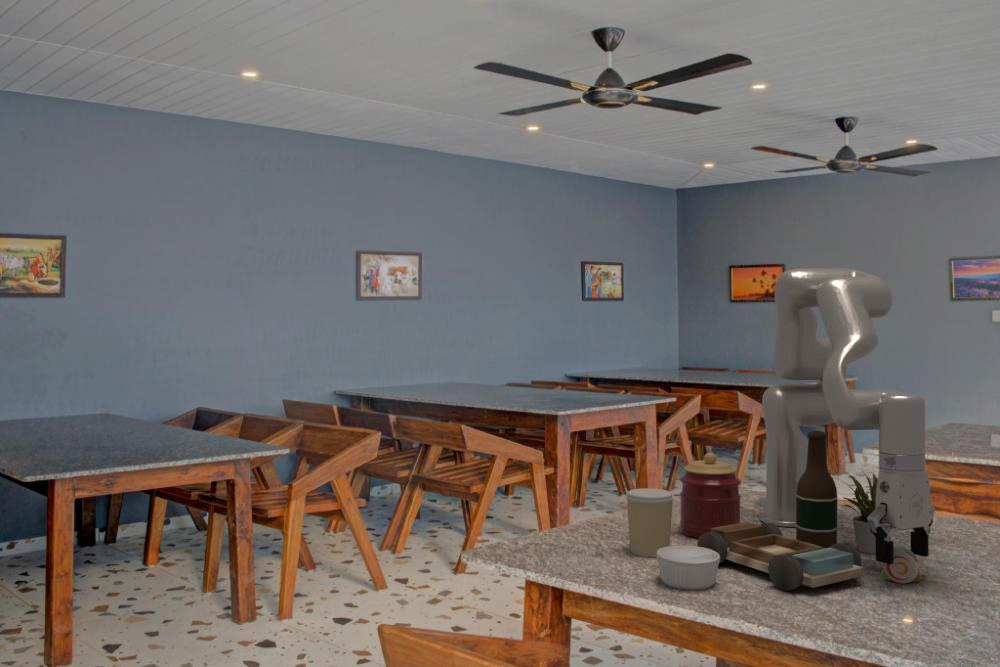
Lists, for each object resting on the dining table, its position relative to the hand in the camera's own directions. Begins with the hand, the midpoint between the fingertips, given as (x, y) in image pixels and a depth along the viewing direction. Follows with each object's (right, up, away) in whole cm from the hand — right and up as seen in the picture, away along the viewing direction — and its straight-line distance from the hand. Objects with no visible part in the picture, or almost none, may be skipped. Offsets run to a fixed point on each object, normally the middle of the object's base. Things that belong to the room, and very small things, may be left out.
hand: (902, 558), depth 157 cm
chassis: (-20, -4, +7) cm, 22 cm away
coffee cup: (-42, -4, +20) cm, 46 cm away
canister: (-26, -4, +35) cm, 44 cm away
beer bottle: (-8, -4, +21) cm, 23 cm away
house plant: (+5, -4, +20) cm, 21 cm away
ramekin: (-38, -5, 0) cm, 38 cm away
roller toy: (0, -4, 0) cm, 4 cm away
